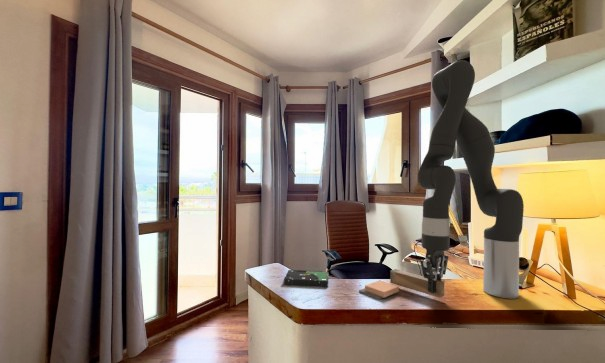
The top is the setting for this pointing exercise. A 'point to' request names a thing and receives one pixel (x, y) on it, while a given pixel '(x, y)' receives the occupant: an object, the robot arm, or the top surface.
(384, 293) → the tile
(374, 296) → the mat
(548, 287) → the top surface
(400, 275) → the block
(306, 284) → the disk drive
